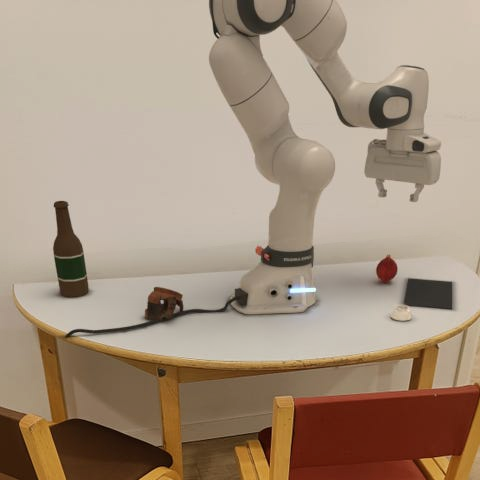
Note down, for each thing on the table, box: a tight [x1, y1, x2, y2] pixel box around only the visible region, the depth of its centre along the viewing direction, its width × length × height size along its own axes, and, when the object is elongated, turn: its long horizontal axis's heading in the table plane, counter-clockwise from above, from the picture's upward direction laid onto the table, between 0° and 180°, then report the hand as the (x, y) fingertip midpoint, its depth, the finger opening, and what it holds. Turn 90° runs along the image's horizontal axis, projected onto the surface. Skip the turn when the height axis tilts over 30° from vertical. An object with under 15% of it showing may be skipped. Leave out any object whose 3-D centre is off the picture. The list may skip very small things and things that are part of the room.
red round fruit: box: [375, 253, 399, 284], centre depth 167 cm, size 6×6×8 cm
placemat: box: [403, 277, 453, 311], centre depth 162 cm, size 22×12×1 cm, turn 163°
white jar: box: [390, 304, 413, 322], centre depth 146 cm, size 5×3×5 cm
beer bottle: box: [52, 200, 90, 298], centre depth 158 cm, size 8×8×24 cm
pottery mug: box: [144, 286, 184, 323], centre depth 148 cm, size 12×10×8 cm
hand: (397, 199), depth 157 cm, fingers open, 8 cm apart
